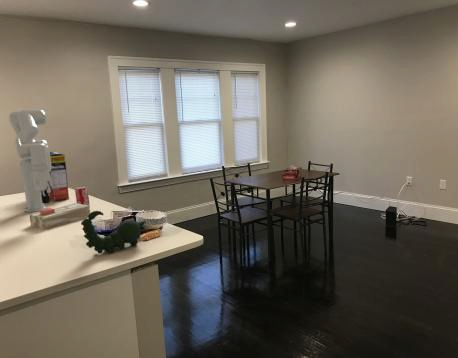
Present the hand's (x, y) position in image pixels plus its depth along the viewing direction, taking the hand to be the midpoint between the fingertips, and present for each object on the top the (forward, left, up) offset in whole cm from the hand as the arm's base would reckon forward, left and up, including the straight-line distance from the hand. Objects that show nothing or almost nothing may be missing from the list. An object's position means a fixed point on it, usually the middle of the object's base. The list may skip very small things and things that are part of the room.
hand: (46, 203), depth 191 cm
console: (0, +7, -12) cm, 14 cm away
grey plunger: (0, +14, -9) cm, 17 cm away
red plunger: (0, 0, -8) cm, 8 cm away
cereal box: (-61, +41, -12) cm, 74 cm away
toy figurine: (+64, -6, -12) cm, 66 cm away
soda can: (-13, +29, -12) cm, 34 cm away
